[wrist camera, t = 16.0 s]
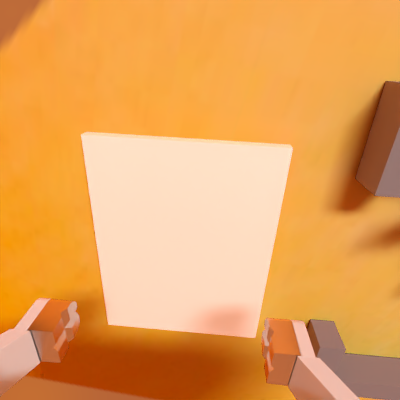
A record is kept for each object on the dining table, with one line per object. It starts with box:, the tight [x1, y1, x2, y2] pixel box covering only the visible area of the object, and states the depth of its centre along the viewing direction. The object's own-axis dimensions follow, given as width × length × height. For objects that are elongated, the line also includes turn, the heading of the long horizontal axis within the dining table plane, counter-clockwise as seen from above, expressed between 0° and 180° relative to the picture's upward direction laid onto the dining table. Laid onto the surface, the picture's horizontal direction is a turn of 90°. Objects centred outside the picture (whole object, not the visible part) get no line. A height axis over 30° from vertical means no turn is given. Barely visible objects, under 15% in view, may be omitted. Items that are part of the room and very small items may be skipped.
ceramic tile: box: [81, 132, 293, 338], centre depth 16 cm, size 10×13×1 cm
